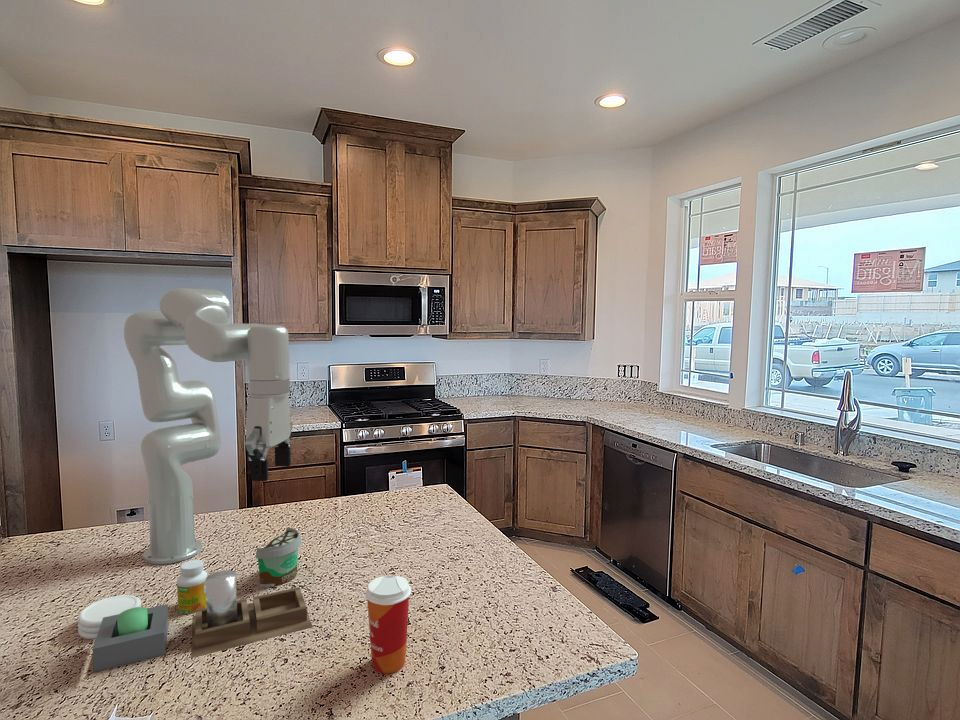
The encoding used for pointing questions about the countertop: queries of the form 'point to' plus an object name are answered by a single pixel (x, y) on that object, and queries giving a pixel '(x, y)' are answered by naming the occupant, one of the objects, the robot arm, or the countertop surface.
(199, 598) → the supplement bottle
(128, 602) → the round white lidded container
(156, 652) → the gray square holder
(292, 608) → the double slot desk organizer
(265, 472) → the robot arm
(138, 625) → the button
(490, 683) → the countertop surface
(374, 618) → the paper cup
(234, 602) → the billet
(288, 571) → the food container
